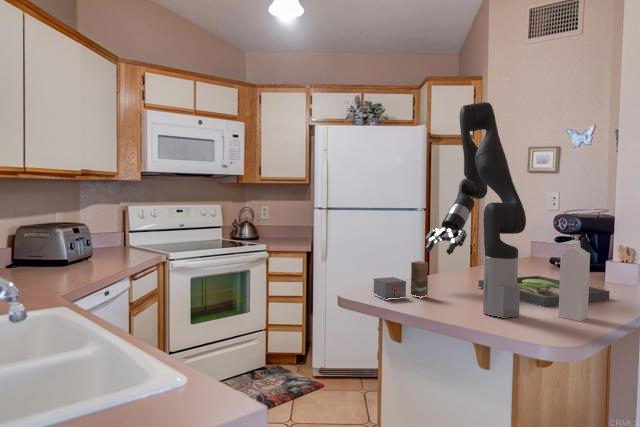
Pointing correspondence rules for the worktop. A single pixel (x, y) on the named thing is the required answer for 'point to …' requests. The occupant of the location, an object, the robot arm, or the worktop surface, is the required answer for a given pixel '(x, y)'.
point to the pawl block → (390, 287)
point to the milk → (574, 283)
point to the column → (419, 278)
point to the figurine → (537, 285)
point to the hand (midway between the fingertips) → (437, 251)
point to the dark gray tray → (594, 295)
